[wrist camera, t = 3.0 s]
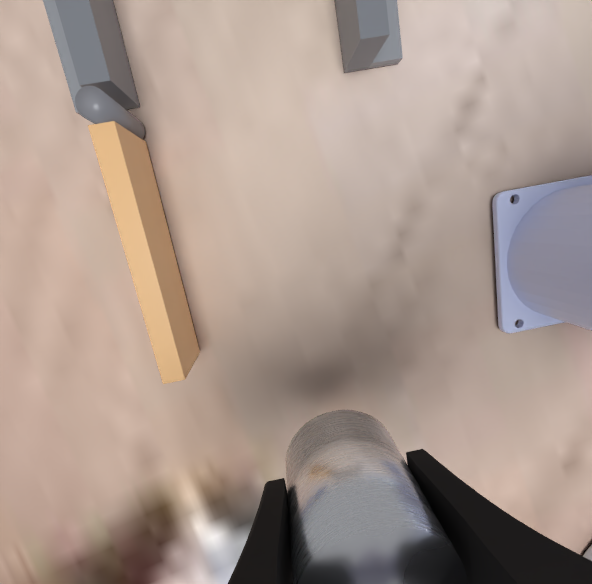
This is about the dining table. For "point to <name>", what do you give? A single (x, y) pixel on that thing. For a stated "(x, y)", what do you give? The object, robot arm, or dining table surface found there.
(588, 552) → the utensil holder
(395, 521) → the steel cylinder
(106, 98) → the gate
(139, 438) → the dining table surface
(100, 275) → the dining table surface
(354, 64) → the housing
